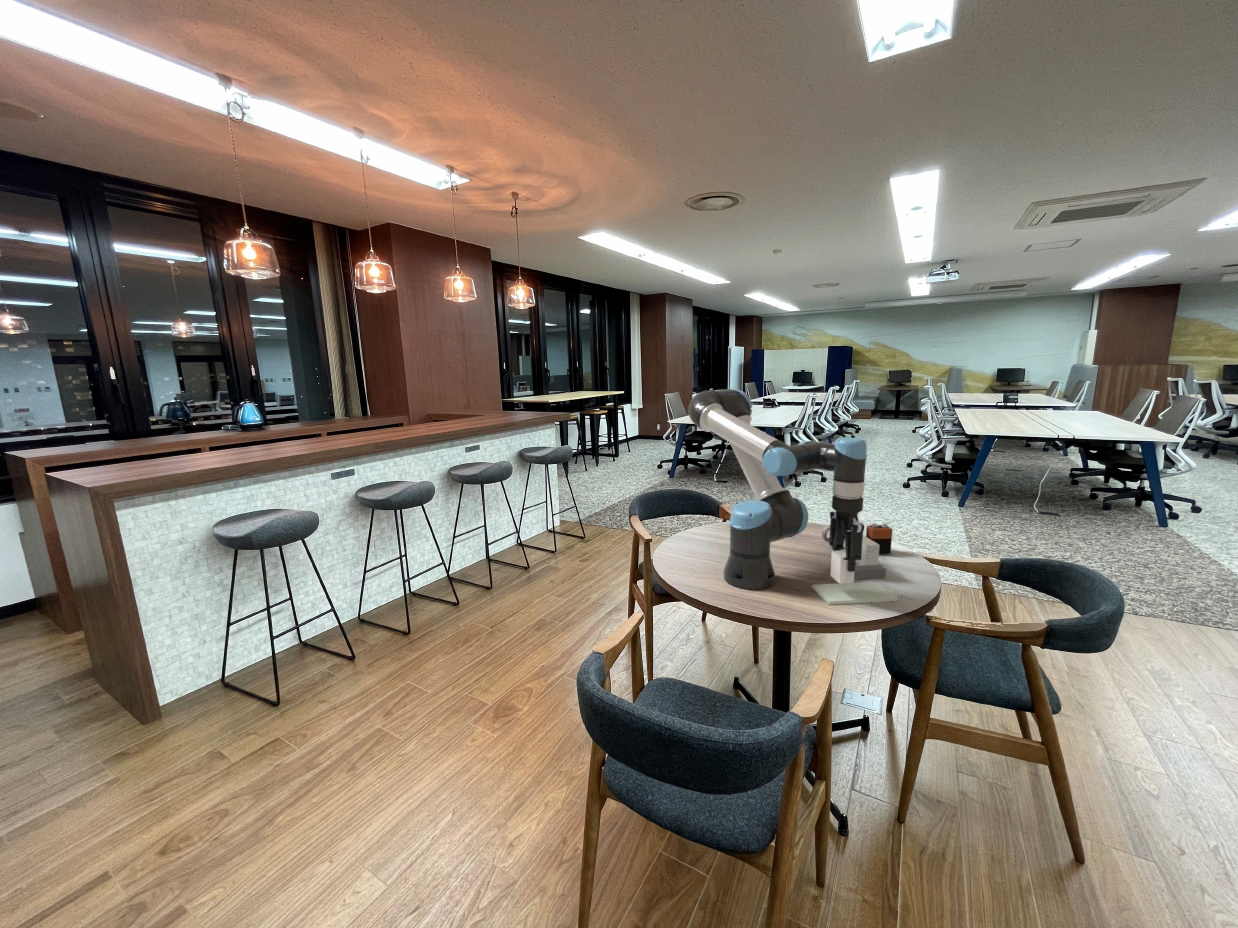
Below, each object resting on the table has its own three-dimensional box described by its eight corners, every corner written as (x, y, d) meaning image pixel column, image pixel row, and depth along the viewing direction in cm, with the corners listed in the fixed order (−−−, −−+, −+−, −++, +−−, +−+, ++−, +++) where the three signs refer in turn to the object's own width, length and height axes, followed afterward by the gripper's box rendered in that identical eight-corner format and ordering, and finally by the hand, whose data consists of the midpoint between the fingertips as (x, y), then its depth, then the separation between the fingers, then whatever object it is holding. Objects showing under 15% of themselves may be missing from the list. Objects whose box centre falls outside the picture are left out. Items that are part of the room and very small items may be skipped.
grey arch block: (863, 578, 142) (866, 545, 140) (838, 559, 156) (840, 529, 154) (876, 577, 142) (879, 544, 140) (850, 558, 157) (852, 528, 155)
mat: (828, 604, 127) (829, 601, 127) (812, 587, 137) (812, 584, 136) (897, 601, 128) (897, 597, 127) (875, 584, 137) (876, 581, 137)
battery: (864, 550, 164) (866, 522, 162) (884, 549, 164) (886, 522, 162) (870, 554, 159) (873, 526, 158) (891, 554, 159) (893, 526, 157)
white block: (839, 583, 128) (840, 557, 127) (830, 575, 133) (831, 550, 132) (887, 580, 129) (889, 554, 127) (876, 572, 134) (878, 547, 132)
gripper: (881, 504, 118) (874, 590, 122) (844, 487, 135) (839, 563, 140) (852, 505, 117) (846, 592, 122) (818, 488, 135) (814, 564, 139)
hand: (842, 576), depth 131 cm, fingers closed on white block, 5 cm apart
